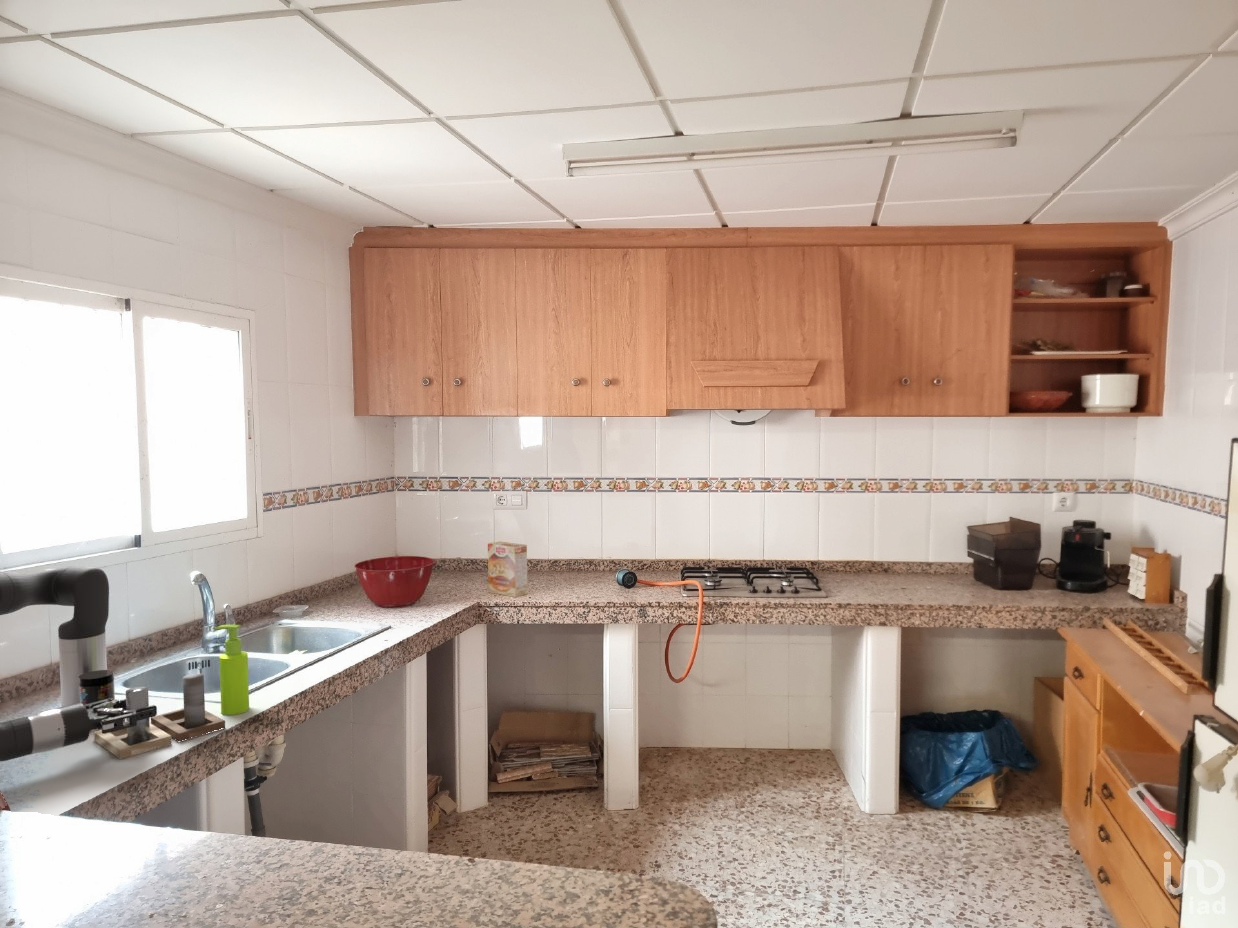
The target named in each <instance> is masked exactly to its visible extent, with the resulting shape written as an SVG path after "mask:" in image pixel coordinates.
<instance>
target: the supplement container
mask: <svg viewBox="0 0 1238 928" xmlns="http://www.w3.org/2000/svg"><path fill="white" fill-rule="evenodd" d="M115 693H116V692H115V671H114V670H111V669H107V670H98V671H92V672H88V673H84V674H82V675H80V676H79V694H80V703H82V704H84V705H86V704H90V703H94V702H98V701H102V700H105V699H109V698H112V699H113V700H115V699H116V697H115V695H116V694H115Z"/></svg>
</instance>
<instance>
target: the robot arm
mask: <svg viewBox="0 0 1238 928" xmlns="http://www.w3.org/2000/svg"><path fill="white" fill-rule="evenodd" d="M109 604H110V583H109V579H108V576H107V574H106V572H105V571H104V570H103V569H102V568H99V567H94V566H74V565H73V566H62V567H58V568H55V569H54V568H52V569H48V570H42V571H35V572H22V571H0V616H4V615H8V614H12V613H14V612H17V611H19V610H22V609H24V608H26V607H30V606H42V605H43V606H44V605H45V606H47V605H49V606H51V605H52V606H62V607H63V606H64V607H65V606H66V607H73V615H72V619H70V620H68V621H64V622H63V623H61V624H59V626H58V629H57V631H58V632H57V635H58V651H59V653H58V656H59V657H58V658H59V674H60V675H59V677H60V679H59V680H60V701H61V703H60V704H61V706H60V707H59V706H58V707H55V708H52V709H47V710H44V711H39V712H36V713H33V714H30V715H28V716H23V717H18V718H15V719H14V718H13V719H10V720H6V721H3V722H0V762H6V761H10V760H14V759H18V758H22V757H25V756H30V755H34V754H39V753H46V752H49V751H53V750H57V749H60V748H61V749H62V748H64V747H67V746H72V745H76V744H80V743H83V742H86V741H87V740H88V738H89V737H90V733H91V731H93V730H96V731H100V730H102V734H106V733H110V732H114V731H118V730H122V729H126V728H130V727H134V726H136V725H137V721H139V720H143V719H146V718H149V719H151V717H154V716H157V715H158V709H157V708H158V707H157V706H156V705H155V704H152V705H149V706H147V707H143V708H139V709H135V710H126V698H123V699H116V698H115V700H113V699H112V698H109V699H105V700H102V701H98V702H94V703H90V704H86V705H84V704H82V703H80V694H79V676H80V675H82V674H84V673H88V672H92V671H98V670H108V663H107V660H108V659H107V641H106V640H107V639H106V626H107V622H108V619H109V614H110V613H109V611H110V605H109ZM127 718H129V720H127ZM124 724H125V725H124Z"/></svg>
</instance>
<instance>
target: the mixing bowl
mask: <svg viewBox="0 0 1238 928" xmlns="http://www.w3.org/2000/svg"><path fill="white" fill-rule="evenodd" d="M435 562H436V561H435V559H433V558H431V557H428V556H427V557H426V556H418V555H417V556H415V555H398V556H397V555H396V556H384V557H377V558H371V559H366V560H362V561H359V562H357V563H355V564H354V566H353V567H354V569H355V572H356V575H357V578H358V580H359V583H360V585H361V587H362V590H363V591H364V593H365V595H366V597H367V598H368V599H369V601H370V602H372V603H373V604H374V605H376V606H378V607H379V608H380V607H381V608H386V609H389V608H390V609H391V608H392V609H393V608H394V609H395V608H398V609H399V608H404V607H409V606H412V605H414V604H415V603H416V602H418V601H419V600H420V599H421V598H422V597H423V595H424V593H425V591H426V589H427V588H428V584H429V582H430V579H431V575H432V573H433V568H434V564H435Z"/></svg>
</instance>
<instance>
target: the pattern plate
mask: <svg viewBox="0 0 1238 928" xmlns="http://www.w3.org/2000/svg"><path fill="white" fill-rule="evenodd" d="M182 690H183V691H182V693H183V708H181V709H177V710H176V709H175V710H174V711H170V712H166V713H161V714H157V715H156V716H154V717H150V723H151V724H152V725H154V726H156V727H157V728H159V729H161V730H162V731H164V732H166V733H167V734H169V735H171V739H173V738H174V740H175V739H176V740H175V741H176V742H178V741H181V742H183V741H182V740H185V739H188V740H190V739H189V738H191V737H195V736H199V737H201V736H200V735H202V734H205V735H207V734H206V733H208V732H212V731H214V730H219V729H221V728H225V729H226V720H225V719H223V718H221V717H219V716H217V715H215V714H213V713H212V712H209V711H207V710H206V704H205V703H206V702H205V675H204V674H203V673H191V674H187V675H185V676H183V677H182ZM219 731H220V730H219ZM212 733H213V732H212ZM202 736H203V735H202ZM195 738H196V737H195ZM185 741H186V740H185Z"/></svg>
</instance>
